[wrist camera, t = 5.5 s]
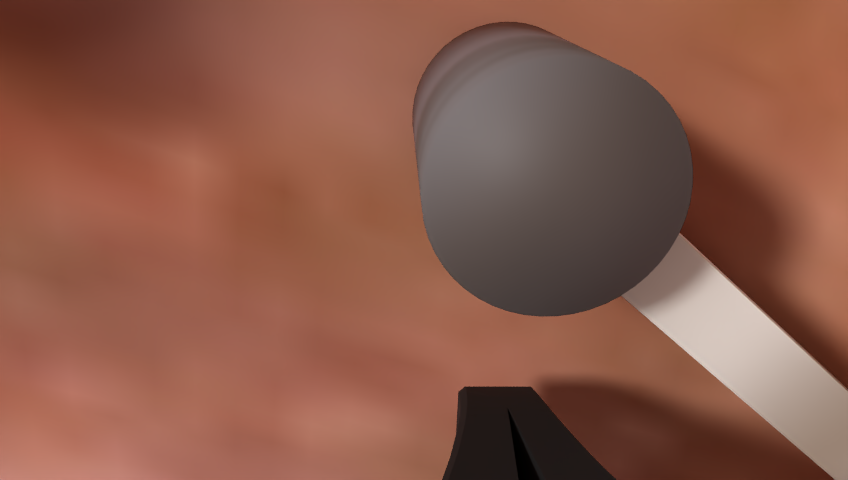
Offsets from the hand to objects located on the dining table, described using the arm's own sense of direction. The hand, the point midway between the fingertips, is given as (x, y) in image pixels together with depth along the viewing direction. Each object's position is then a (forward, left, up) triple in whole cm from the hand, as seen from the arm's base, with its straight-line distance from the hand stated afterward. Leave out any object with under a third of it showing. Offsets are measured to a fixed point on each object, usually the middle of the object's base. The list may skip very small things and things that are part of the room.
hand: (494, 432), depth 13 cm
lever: (+1, -5, -2) cm, 6 cm away
